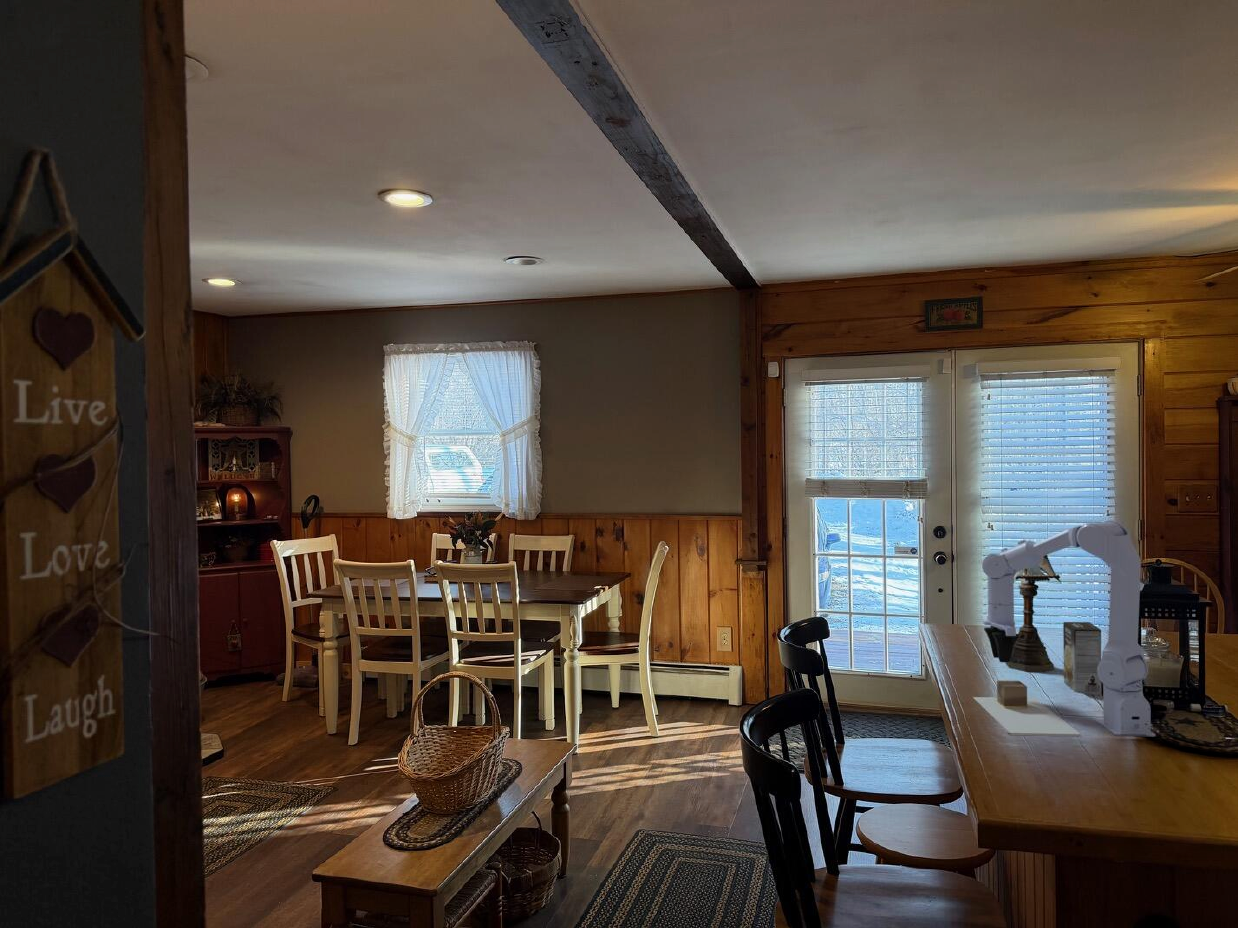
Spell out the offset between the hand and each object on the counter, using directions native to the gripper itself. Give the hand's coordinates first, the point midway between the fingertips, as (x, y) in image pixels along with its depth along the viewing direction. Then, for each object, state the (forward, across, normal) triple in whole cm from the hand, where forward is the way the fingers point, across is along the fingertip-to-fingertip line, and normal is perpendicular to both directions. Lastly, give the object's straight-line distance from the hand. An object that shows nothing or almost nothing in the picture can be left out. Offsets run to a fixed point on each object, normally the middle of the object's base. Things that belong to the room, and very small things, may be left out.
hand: (1001, 659), depth 204 cm
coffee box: (+10, -9, +22) cm, 26 cm away
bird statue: (+10, -29, +18) cm, 35 cm away
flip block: (+9, +7, 0) cm, 11 cm away
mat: (+9, +14, 0) cm, 17 cm away
